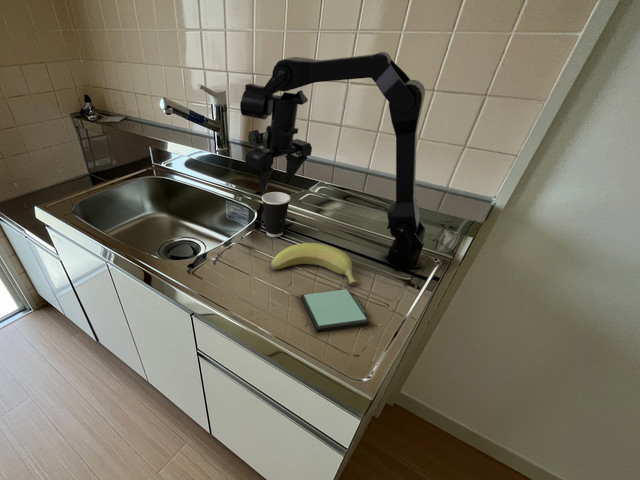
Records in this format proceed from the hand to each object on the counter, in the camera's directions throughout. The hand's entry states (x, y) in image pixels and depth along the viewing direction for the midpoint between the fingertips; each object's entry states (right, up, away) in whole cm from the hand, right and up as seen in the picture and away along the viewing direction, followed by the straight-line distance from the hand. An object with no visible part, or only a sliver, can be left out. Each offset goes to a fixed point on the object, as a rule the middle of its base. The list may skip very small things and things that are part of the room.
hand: (275, 186), depth 90 cm
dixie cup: (+1, -11, +10) cm, 15 cm away
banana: (+9, -24, -6) cm, 26 cm away
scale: (+10, -33, -17) cm, 39 cm away
